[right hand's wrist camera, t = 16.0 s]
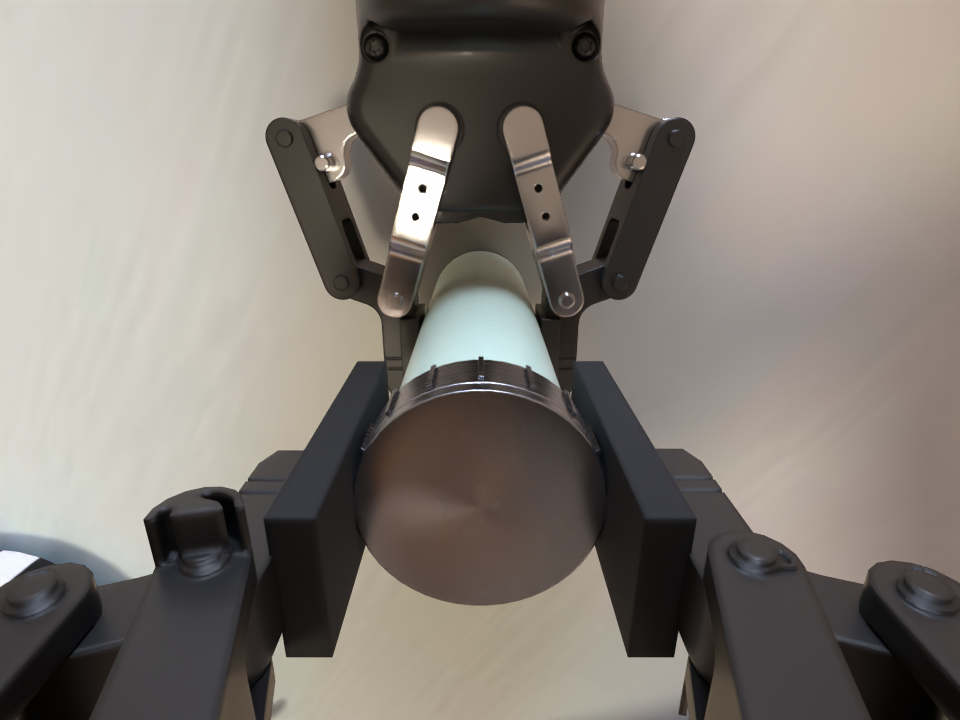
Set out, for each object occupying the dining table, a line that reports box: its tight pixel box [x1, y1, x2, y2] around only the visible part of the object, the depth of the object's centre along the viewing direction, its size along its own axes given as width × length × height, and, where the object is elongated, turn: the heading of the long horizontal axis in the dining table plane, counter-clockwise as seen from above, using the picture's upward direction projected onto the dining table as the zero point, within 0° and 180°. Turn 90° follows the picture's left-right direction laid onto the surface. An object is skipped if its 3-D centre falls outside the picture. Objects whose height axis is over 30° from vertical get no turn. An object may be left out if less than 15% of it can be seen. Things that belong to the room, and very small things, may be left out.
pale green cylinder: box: [400, 251, 560, 388], centre depth 19 cm, size 4×4×16 cm
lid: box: [353, 356, 607, 605], centre depth 11 cm, size 5×5×2 cm
